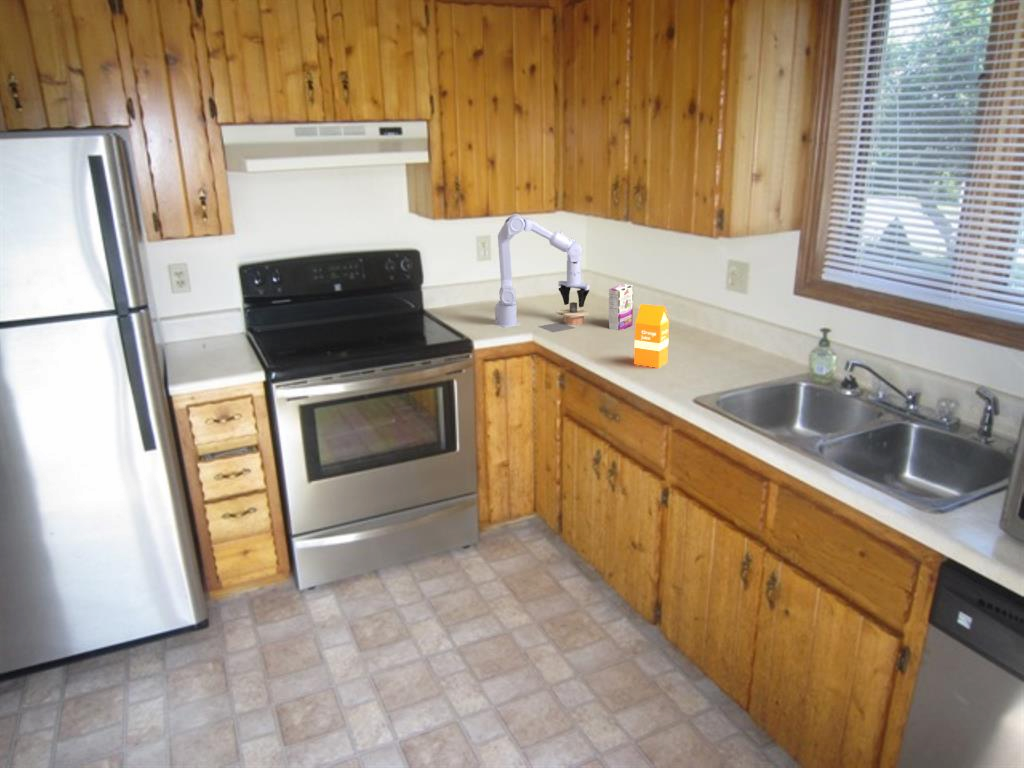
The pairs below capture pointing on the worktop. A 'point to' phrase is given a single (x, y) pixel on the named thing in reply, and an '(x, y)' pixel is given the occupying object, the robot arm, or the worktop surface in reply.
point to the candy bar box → (620, 307)
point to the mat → (556, 327)
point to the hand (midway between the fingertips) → (573, 305)
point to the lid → (573, 311)
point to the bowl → (574, 320)
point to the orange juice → (651, 336)
